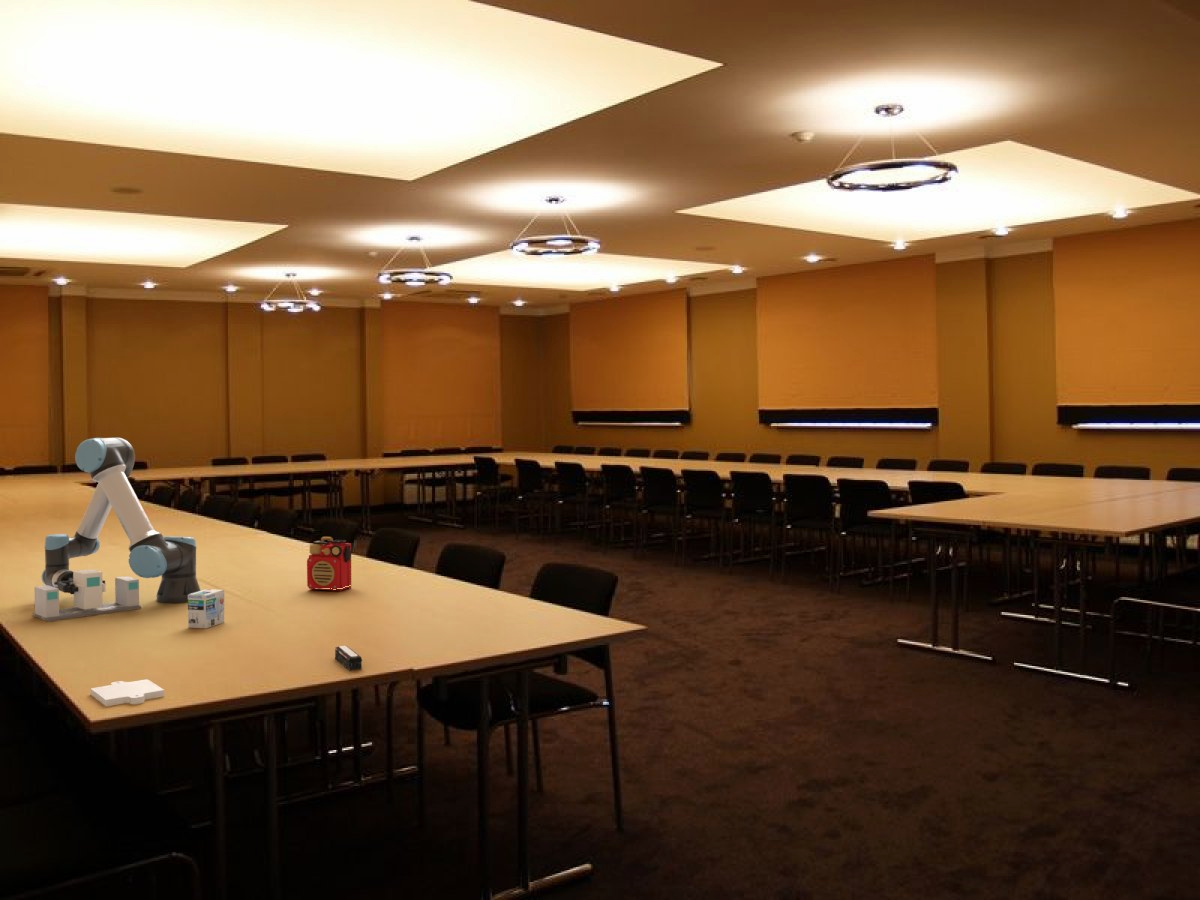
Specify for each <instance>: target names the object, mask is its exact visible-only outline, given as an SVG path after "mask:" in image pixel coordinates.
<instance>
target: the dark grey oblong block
mask: <svg viewBox="0 0 1200 900" xmlns="http://www.w3.org/2000/svg"><path fill="white" fill-rule="evenodd" d="M334 649H335V650H334V651H335V652H334V654H335V655H334V659H335V660H336V661H337V662H338V663H340V664H341V665H342V666H343V667H344V668H345V669H347V671H348V672H350V671H351V672H352V671H358V670H363V667H362V662H363V659H362V656H361V655H359V654H358V653H357V652H356V651H354V650H353V649H351V648H350V647H349V646H348V645H339V646H336V647H334Z"/></svg>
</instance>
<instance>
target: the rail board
mask: <svg viewBox="0 0 1200 900" xmlns="http://www.w3.org/2000/svg"><path fill="white" fill-rule="evenodd" d="M140 609H142V605H140V604H139V605H136V606H129V607H127V606H124V605H120V604H117V603H115V601H114V602H106V603H103V607H100V608H92V609H85V610H84V609H81V608H78V607H75V606H74V607H68V608H62V609H60V608H59V616H55V617H48V618H45V617H43V616H40V615H37V614H35V612H33V613H32V616H33V617H35V618H37V619H39V620H43V621H45V622H54V621H59V620H68V619H75V618H83V617H89V616H97V615H103V614H112V613H117V612H118V613H119V612H126V611H133V610H140Z"/></svg>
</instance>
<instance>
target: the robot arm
mask: <svg viewBox="0 0 1200 900" xmlns="http://www.w3.org/2000/svg"><path fill="white" fill-rule="evenodd" d="M74 459H75V464H76V466H77V467H78V469H80V470H81V471H84V472H85V473H89V475H90V478H91V480H92V481H93V482H95V483H98V484H96V488H95V490H94V492H93V494H92V496H91V499H90V501H89V503H88V505H87V506H86V507H87V508H86V509H85V511H84V515H83V516H82V519H81V520H80V523H79V525H78V528H77V530H76V532H74V533H75V534H74V535H73V536H72V537H69V534H66V533H55V534H48V535H46V536H45V541H44V559H45V560H44V562H45V563H44V564H45V565H44V570H43V571H42V573H41V576H40V577H41V581H42V583H43V584H44V586H45V585H48V586H52V587H55V588H58V589H59V592H62V593H65V594H67V593H68V594H70V595H74V592H76V593H79V594H82V595H84V594H85V586H82V585H78V584H75V586H74V583H73V571H74V570H70V559H75V558H81V557H88V556H89V555H93V554H95V553H97V551H98V550H100V540H99V536H100V534H101V532H102V529H103V527H104V525H105V522H106V521H107V519H108V516H109V514H110V512H111V509H113V511H114V513H115V515H116V518H117V519H118V521H119V522H120V524H121V527H122V528H123V530H124V532H125V534H126V536H127V538H128V540H129V541H130V542H129V543H130V544H129V546H128V550H129V552H130V553H129V555H128V557H129V558H128V565H129V567H130V570H131V571H132V572H133V573H134V574H135V575H136V576H138V577H141V578H143V579H153V578H154V579H155V578H158V577H161V580H160V584H159V586H158V589H157V591H156V602H157V603H166V604H167V603H169V604H175V603H188V594H191V593H195V592H198V591H202V589H201V587H200V585H199V582H198V579H197V544H196V543H197V542H196V539H195V538H194V537H192V536H164V535H163V534H162V532H159V531H156V530H155V528H154V527H153V525H152V522H151V521H150V519H149V517H148V515H147V513H146V511H145V510H144V507H143V506H142V503H141V501H140V500H139V498H138V496H137V494H136V492H135V490H134V487H132V484H131V483H130V480H129V479H128V478H130V476H131V473H132V471H133V468H134V465H135V461H136V454H135V449H134V447H133V446H132V444H131V443H130V442H129V441H128V440H127V439H125V438H122V437H94V438H89V439H88V438H87V439H86V440H83V441H81V442H80V444H78V446H77V448H76V451H75V455H74ZM106 589H107V588H106V580H103V579H102V592H103V593H105V592H106V591H107V590H106Z"/></svg>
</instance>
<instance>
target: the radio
mask: <svg viewBox="0 0 1200 900" xmlns="http://www.w3.org/2000/svg"><path fill="white" fill-rule="evenodd" d="M326 541H327V542H326ZM306 585H307V588H308V589H309V590H314V591H315V590H317V589H314V588H330V589H318V590H319V591H321V590H323V591H334V590H333V589H336V590H335V592H336V591H338V592H341V591H345V590H346V589H347V588H350V589H352V543H349V542H347V540H345V539H343V540H342V539H335V540H334V538H333V537H332V536H322V537H321V538H320V540H313V542H312V543H310V544H309V555H308V558H307V560H306ZM349 585H351V586H349ZM345 586H349V587H345ZM343 587H345V588H343ZM331 588H332V589H331ZM337 588H343V589H337ZM347 590H348V589H347Z"/></svg>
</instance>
